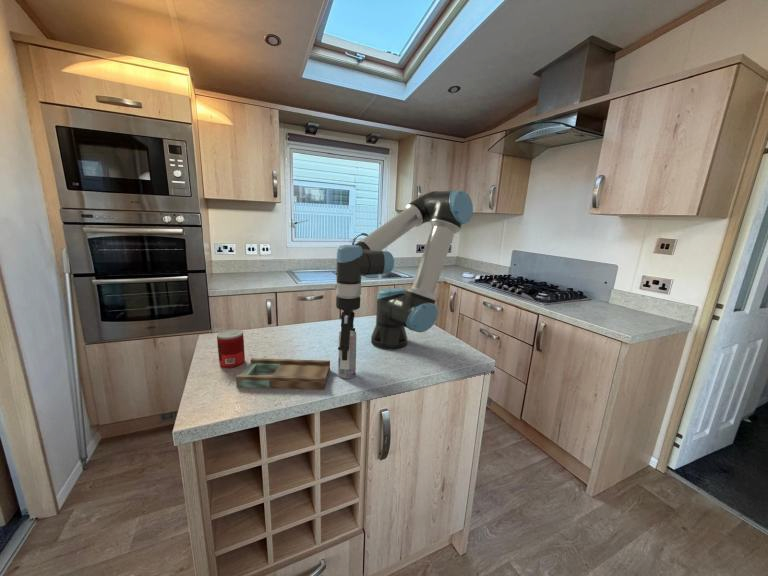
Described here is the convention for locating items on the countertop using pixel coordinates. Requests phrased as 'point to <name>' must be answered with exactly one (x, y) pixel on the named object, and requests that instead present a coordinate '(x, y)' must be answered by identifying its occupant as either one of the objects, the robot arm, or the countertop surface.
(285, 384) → the rail board
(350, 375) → the beverage can
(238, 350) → the canned food
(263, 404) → the countertop surface
